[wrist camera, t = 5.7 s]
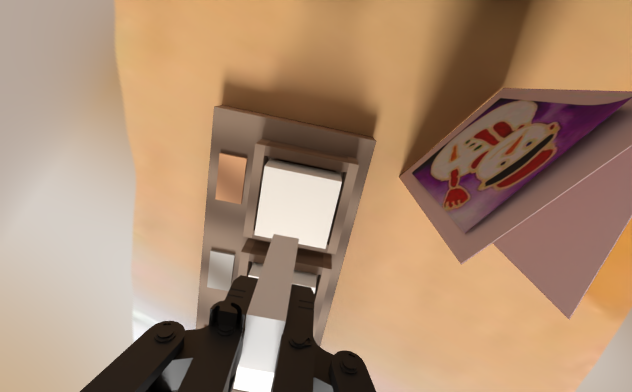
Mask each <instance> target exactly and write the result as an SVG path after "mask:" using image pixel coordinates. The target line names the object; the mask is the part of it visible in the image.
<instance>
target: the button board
mask: <svg viewBox="0 0 632 392" xmlns="http://www.w3.org/2000/svg"><path fill="white" fill-rule="evenodd" d="M375 144H376V140H375V139H374V138H373V137H369V136H365V135H360V134H355V133H351V132H346V131H341V130H337V129H332V128H327V127H322V126H318V125H313V124H308V123H304V122H299V121H294V120H290V119H285V118H280V117H275V116H271V115H266V114H261V113H257V112H252V111H247V110H243V109H238V108H233V107H228V106H224V105H220V106H215V107H214V115H213V128H212V140H211V152H210V164H209V176H208V188H207V200H206V212H205V224H204V236H203V248H202V260H201V273H200V285H199V297H198V309H197V321H196V329H201V328H204V327H206V326H208V325H209V316H210V308H211V307H212V306H213V305H214V304H215V303H217V302H219V301H223V300H225V298H226V296H227V294H228V291H229V290H230V287H231V285H232V283H233V281H234V280H235V279H236V278H238V277H239V276H240V275H242V276H248V275H249V272H250V270H251V268H252V265H253V263H254V262H256V263H261V264H264V261H265V258H266V255H267V252H268V249H269V246H270V243H271V240H272V238H266V237H261V236H256V235H254V234H255V227H256V221H257V214H258V207H259V200H260V194H261V187H262V180H263V174H264V167H265V165H266V163H267V162H268V161H269V160H270V159H274V160H279V161H284V162H289V163H293V164H298V165H303V166H308V167H313V168H318V169H322V170H327V171H332V172H337V173H341V179H342V184H341V188H340V192H339V196H338V200H337V204H336V208H335V212H334V216H333V220H332V224H331V228H330V233H329V237H328V241H327V245H326V249H322V248H317V247H312V246H307V245H302V244H298V249H297V255H296V261H295V267H294V270H298V271H303V272H308V273H313V274H317V275H316V289H315V293H314V294H315V301H314V324H313V337H314V340H315V342H316V343H317V345H318V346H319V347H320V344H321V340H322V337H323V333H324V329H325V326H326V322H327V318H328V315H329V311H330V308H331V304H332V300H333V297H334V293H335V289H336V286H337V282H338V278H339V275H340V271H341V267H342V264H343V260H344V257H345V253H346V249H347V246H348V242H349V238H350V235H351V231H352V227H353V224H354V220H355V216H356V213H357V209H358V206H359V202H360V198H361V195H362V191H363V187H364V184H365V180H366V176H367V173H368V169H369V165H370V162H371V158H372V155H373V151H374V147H375ZM233 388H234V386H233ZM232 392H249V391H243V390H238V389H232Z"/></svg>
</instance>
